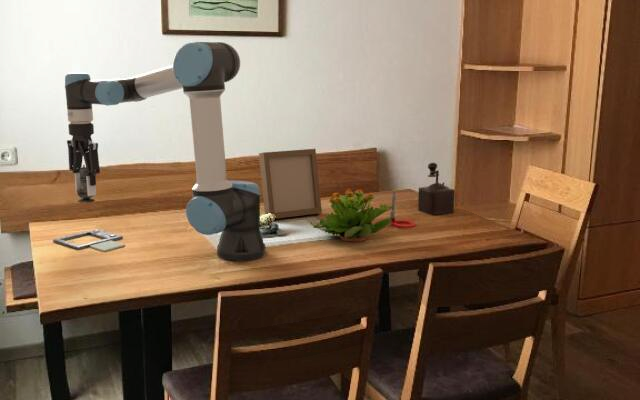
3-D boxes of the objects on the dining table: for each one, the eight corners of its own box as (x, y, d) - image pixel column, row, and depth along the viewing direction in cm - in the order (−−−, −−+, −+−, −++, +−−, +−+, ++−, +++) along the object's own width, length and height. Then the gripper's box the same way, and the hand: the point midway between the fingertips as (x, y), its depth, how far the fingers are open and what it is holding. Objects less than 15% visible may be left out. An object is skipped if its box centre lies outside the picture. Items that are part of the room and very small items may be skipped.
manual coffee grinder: (455, 213, 274) (458, 167, 270) (433, 216, 269) (435, 169, 265) (431, 204, 288) (433, 161, 284) (409, 207, 283) (411, 163, 279)
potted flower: (346, 224, 255) (347, 177, 251) (404, 235, 242) (406, 186, 238) (306, 240, 235) (306, 189, 231) (366, 253, 222) (367, 199, 218)
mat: (125, 246, 226) (125, 244, 226) (104, 251, 220) (104, 250, 220) (110, 241, 230) (110, 240, 230) (89, 247, 224) (89, 245, 224)
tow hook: (416, 224, 258) (392, 221, 261) (419, 190, 255) (395, 187, 258) (412, 230, 250) (386, 226, 253) (415, 195, 247) (389, 192, 250)
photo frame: (321, 215, 268) (322, 150, 262) (270, 221, 258) (270, 154, 252) (303, 207, 281) (304, 145, 275) (253, 213, 270) (253, 149, 265)
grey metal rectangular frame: (122, 238, 235) (122, 235, 234) (78, 249, 221) (77, 246, 221) (97, 231, 243) (97, 228, 243) (53, 241, 230) (53, 238, 230)
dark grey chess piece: (90, 203, 223) (87, 166, 221) (73, 202, 224) (70, 165, 222) (99, 199, 229) (96, 163, 226) (83, 198, 230) (80, 162, 227)
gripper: (53, 121, 224) (59, 192, 229) (87, 125, 213) (93, 199, 218) (74, 119, 230) (79, 188, 235) (108, 123, 218) (113, 195, 223)
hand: (86, 193), depth 226 cm, fingers closed on dark grey chess piece, 6 cm apart
